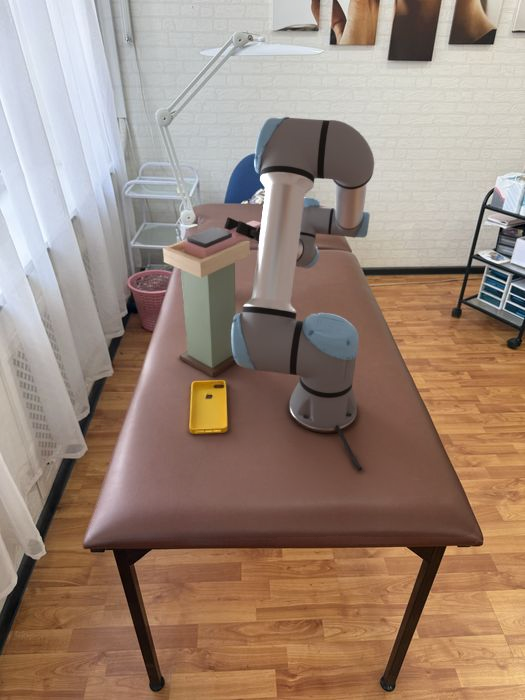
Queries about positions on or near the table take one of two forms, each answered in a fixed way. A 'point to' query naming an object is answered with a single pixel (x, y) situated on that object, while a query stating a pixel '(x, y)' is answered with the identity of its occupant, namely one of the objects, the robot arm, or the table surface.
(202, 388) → the phone case
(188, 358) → the stand
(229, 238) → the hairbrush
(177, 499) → the table surface
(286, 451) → the table surface
